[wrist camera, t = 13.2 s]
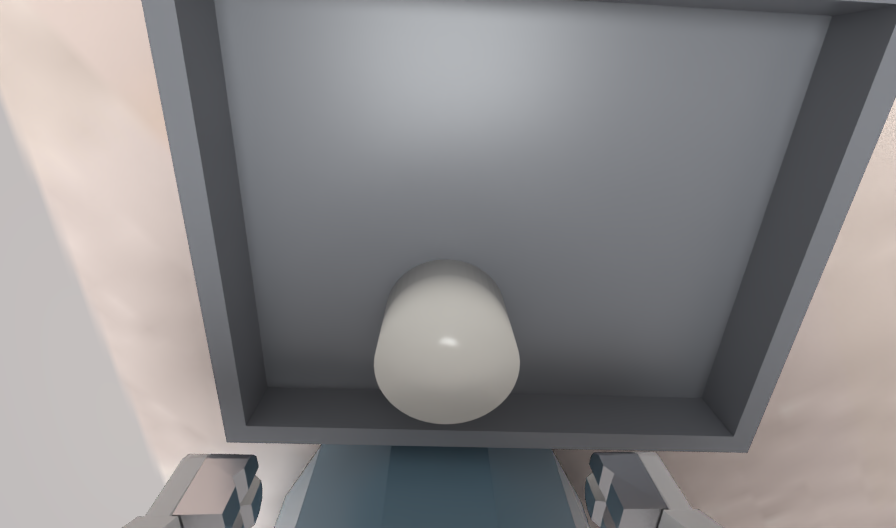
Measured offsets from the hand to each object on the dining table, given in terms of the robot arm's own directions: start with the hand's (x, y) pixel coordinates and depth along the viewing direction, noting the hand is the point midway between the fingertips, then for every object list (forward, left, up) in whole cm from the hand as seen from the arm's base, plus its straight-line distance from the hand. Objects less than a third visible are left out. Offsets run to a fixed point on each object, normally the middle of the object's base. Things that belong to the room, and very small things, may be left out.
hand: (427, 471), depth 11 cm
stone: (-1, -1, -7) cm, 7 cm away
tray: (-3, -4, -8) cm, 9 cm away
